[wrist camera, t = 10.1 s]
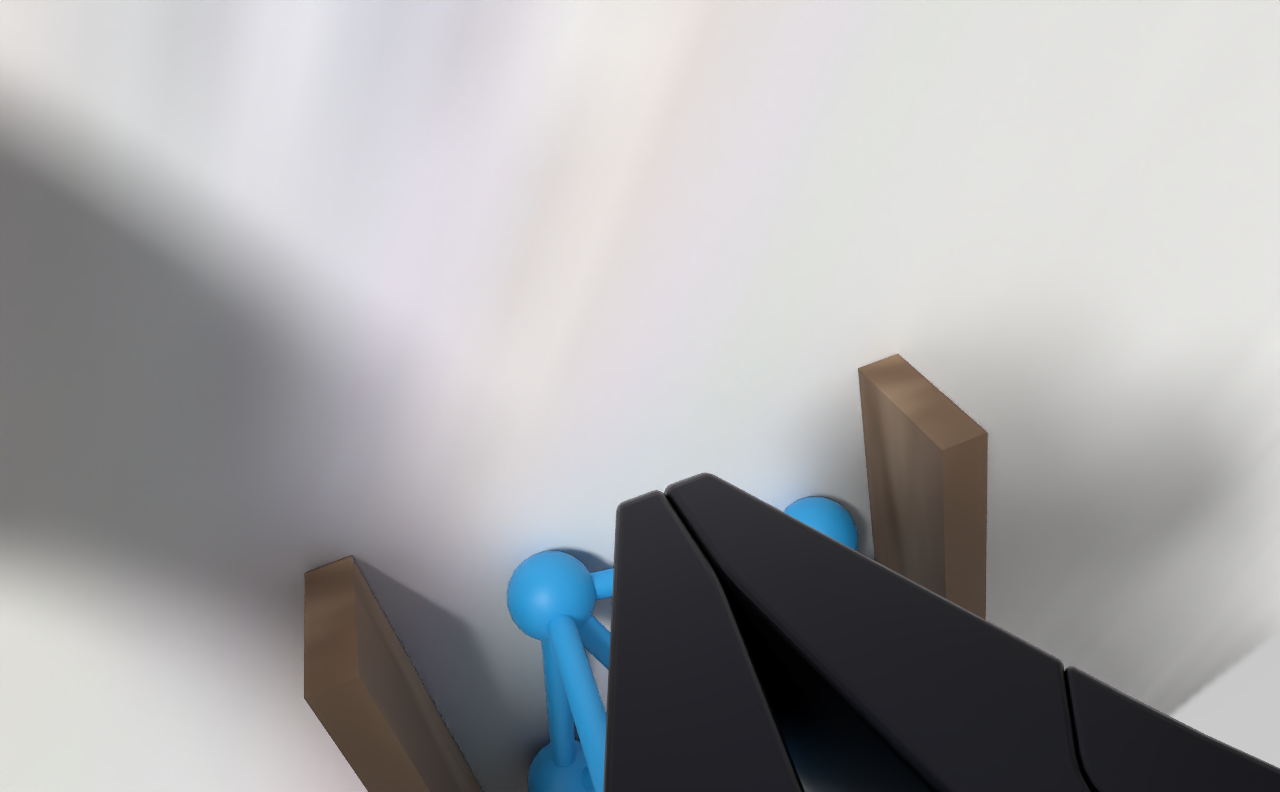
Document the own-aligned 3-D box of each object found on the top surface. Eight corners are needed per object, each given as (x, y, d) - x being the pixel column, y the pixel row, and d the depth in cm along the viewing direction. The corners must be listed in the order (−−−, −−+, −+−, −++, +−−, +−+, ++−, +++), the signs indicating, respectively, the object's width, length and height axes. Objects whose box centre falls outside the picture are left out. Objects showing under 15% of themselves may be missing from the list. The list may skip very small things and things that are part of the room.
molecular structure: (838, 473, 26) (1073, 757, 18) (807, 704, 32) (978, 1005, 24) (496, 542, 24) (591, 906, 16) (523, 780, 29) (606, 1146, 21)
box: (481, 863, 31) (501, 985, 27) (304, 573, 22) (303, 698, 19) (916, 678, 33) (983, 771, 29) (898, 353, 25) (987, 432, 21)
